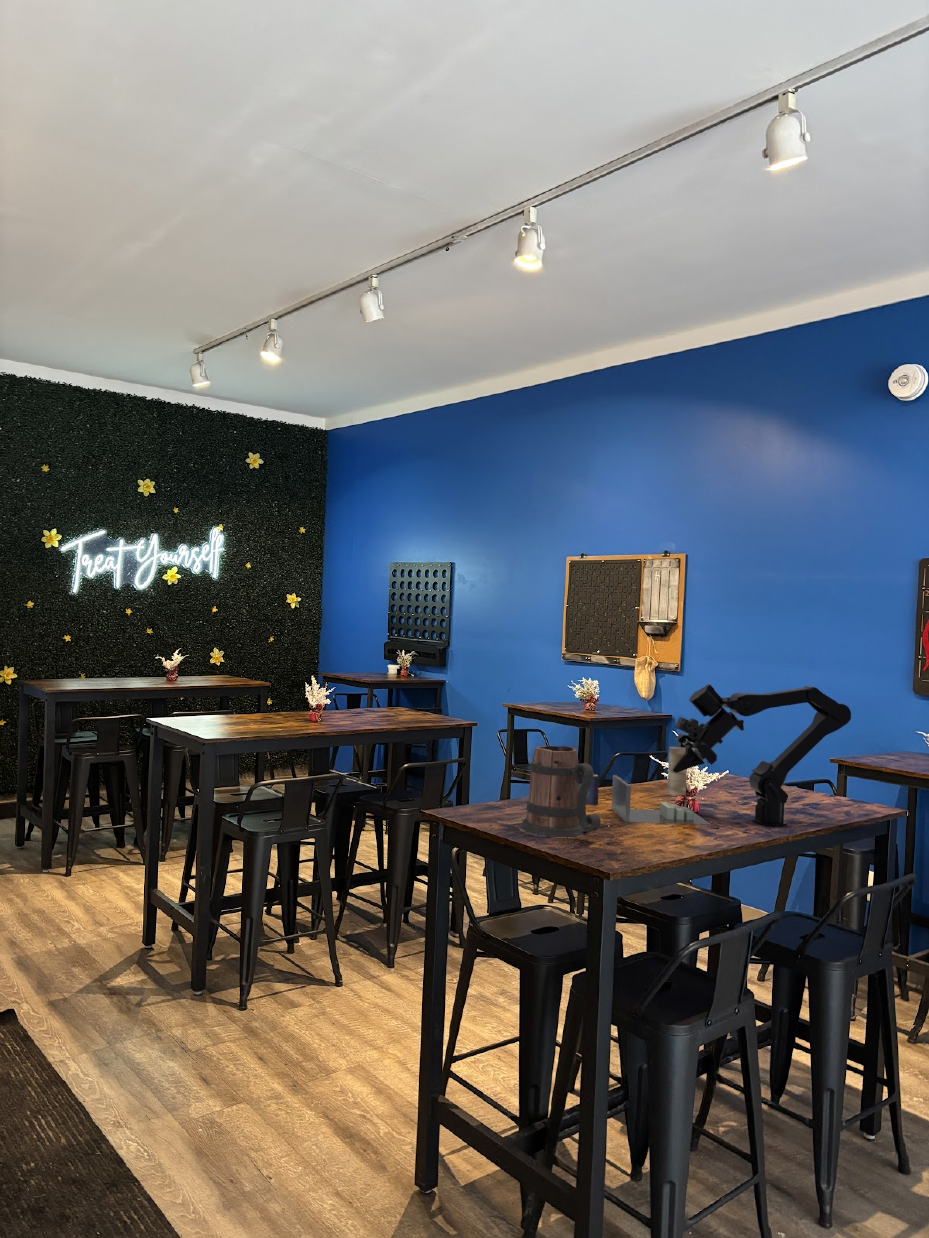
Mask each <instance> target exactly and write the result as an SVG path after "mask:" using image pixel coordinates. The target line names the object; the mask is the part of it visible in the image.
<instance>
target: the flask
mask: <svg viewBox="0 0 929 1238" xmlns="http://www.w3.org/2000/svg"><path fill="white" fill-rule="evenodd" d="M583 770H584V769H583ZM584 776H585V772H584ZM584 776H583V780H584ZM599 780H600V778H599V775H598V774H595V773H594V772H593V780H592V783H591V785H590V787H589V789H588V792H587V796H586V805H588V806H598V804H599V787H600V786H599ZM581 785H582V783H581V784H579V789H580V787H581Z"/></svg>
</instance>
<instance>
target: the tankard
mask: <svg viewBox="0 0 929 1238" xmlns="http://www.w3.org/2000/svg"><path fill="white" fill-rule="evenodd" d="M533 751H534V752H533V755H532V758H531V759H532V760H531V762H530V766H529V770H530V778H529V786H528V787H529V788H528V800H527V801H526V818H523V820H522V821H521V824H519V826H520V828H522V829H523V830H525V831H526V832H531V833H534V834H537V835H547V836H555V837H567V838H568V837H577V836H580V835H585V836H587V835H586V833H587V834H588V833H591V832H596V831H598V830H599V828H600V827H601V823H602V821H601V817H600V816H599V815H598V814H597V813H589V814H587V807H586V805H587V804H586V796H587V792H588V789H589V787H590V785H591V783H592V780H593V773H594V769H593V767H592V765H590V764H589V763H579V757H578V750H577V748H575V747H572V746H564V745H562V746H553V745H539V746H536V747H534V750H533ZM583 769H584V770H583ZM584 772H585V776H584ZM583 776H584V780H583ZM581 783H582V785H581V787H580V789H579V784H581Z"/></svg>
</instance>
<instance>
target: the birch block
mask: <svg viewBox="0 0 929 1238" xmlns="http://www.w3.org/2000/svg"><path fill="white" fill-rule="evenodd" d="M685 753H686V748H685V747H679V746H669V748H668V765H667V766H668V769H667V772H668V773H667V789H666V790H667V791H666V792H667V794H668V795H672V796H686V795H687V774H688V772H687V771H688V769H686V770H683V771H680V772H677V773H675V772H674V771H673V769H674V767H675V766H676V765H677V763H678V762H679V761H680V760H681V758H682V757H683V756H684V755H685Z"/></svg>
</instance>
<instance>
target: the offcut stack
mask: <svg viewBox="0 0 929 1238" xmlns="http://www.w3.org/2000/svg"><path fill="white" fill-rule="evenodd" d="M659 810H660V814H661V815H662V816H663V817H665V818H666V819H674V818H676V819H677V820H684V818H685V819H686V820H694V813H695V811H693V810H692V809H690V808H688V807H687V806H679V805H678V804H670V803H669V802H666V801H665V802H664V801H660V802H659Z"/></svg>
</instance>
